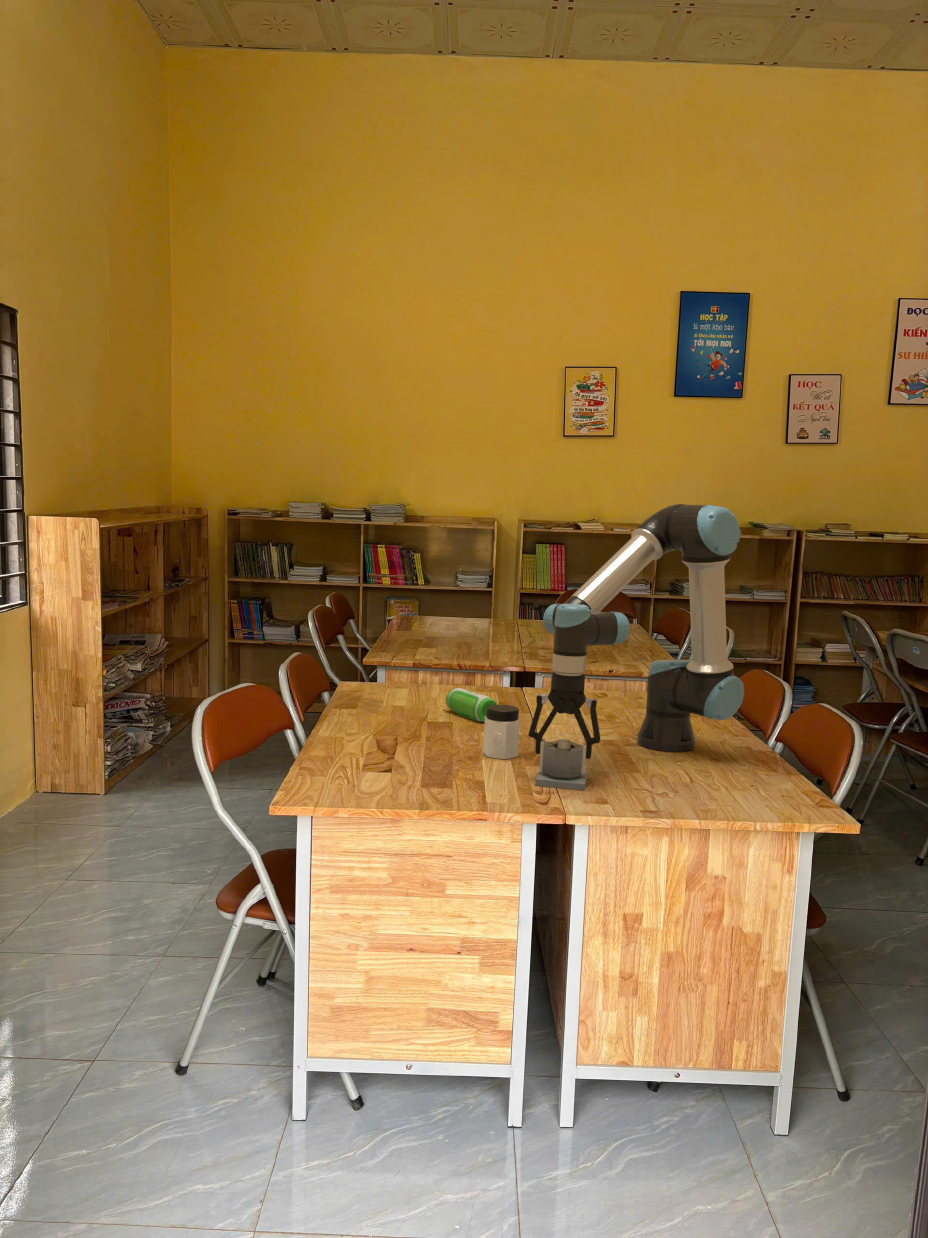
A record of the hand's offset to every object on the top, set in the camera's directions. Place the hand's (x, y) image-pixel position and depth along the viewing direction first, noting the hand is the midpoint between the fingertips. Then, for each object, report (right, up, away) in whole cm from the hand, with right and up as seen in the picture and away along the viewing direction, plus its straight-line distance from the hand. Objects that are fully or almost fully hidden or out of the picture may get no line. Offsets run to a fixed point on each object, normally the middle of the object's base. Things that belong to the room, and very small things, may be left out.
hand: (562, 770), depth 224 cm
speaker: (-20, +6, +62) cm, 65 cm away
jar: (-13, 0, +21) cm, 25 cm away
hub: (0, 0, 0) cm, 0 cm away
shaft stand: (0, -3, +1) cm, 3 cm away
